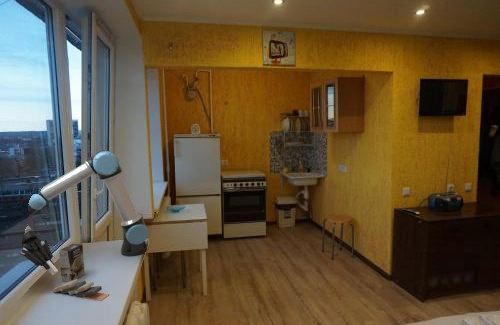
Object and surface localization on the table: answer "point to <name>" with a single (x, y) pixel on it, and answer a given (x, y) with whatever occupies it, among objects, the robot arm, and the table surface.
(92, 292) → the domino
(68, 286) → the domino
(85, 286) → the domino
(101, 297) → the domino
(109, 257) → the table surface
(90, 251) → the table surface
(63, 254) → the coffee box
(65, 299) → the table surface
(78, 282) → the domino
